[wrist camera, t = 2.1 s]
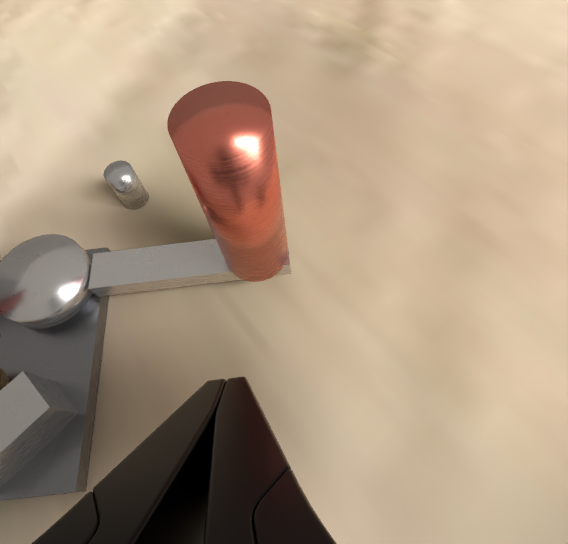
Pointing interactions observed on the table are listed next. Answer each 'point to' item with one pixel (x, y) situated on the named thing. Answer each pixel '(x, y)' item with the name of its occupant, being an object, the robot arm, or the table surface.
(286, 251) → the lever
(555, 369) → the table surface
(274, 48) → the table surface
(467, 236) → the table surface
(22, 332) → the base
